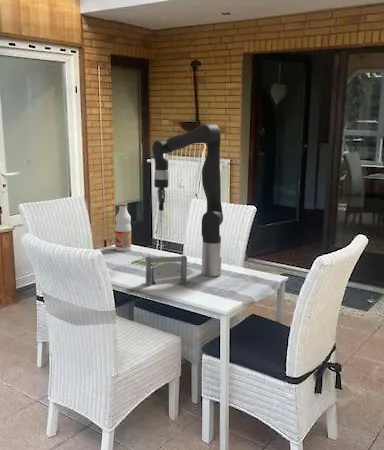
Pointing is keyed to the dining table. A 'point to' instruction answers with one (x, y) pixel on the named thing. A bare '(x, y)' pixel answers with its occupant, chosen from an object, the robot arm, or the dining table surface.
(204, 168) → the robot arm
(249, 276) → the dining table surface
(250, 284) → the dining table surface
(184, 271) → the bar
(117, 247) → the fruit juice
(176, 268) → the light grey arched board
